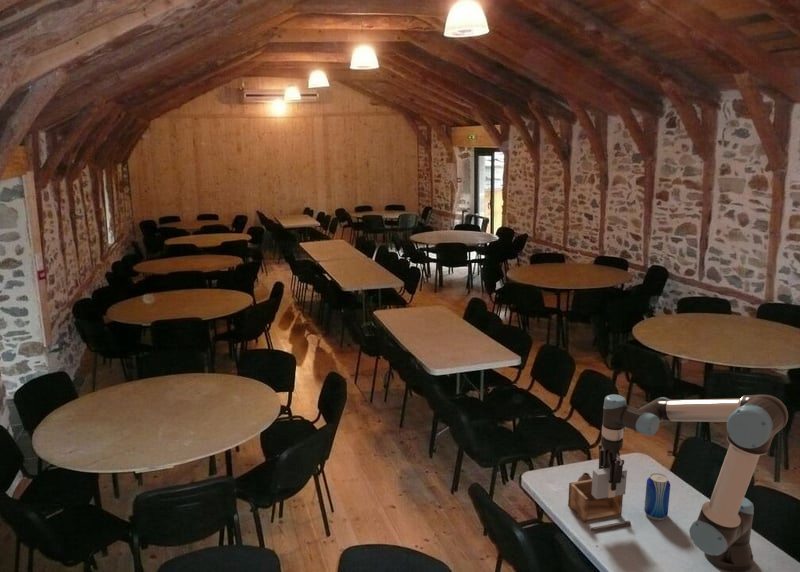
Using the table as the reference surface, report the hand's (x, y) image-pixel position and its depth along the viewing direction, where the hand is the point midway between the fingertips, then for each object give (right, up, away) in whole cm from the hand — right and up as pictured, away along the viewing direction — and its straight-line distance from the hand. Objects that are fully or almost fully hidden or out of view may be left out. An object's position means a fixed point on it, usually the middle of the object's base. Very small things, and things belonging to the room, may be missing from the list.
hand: (608, 493), depth 244 cm
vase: (-2, -7, +23) cm, 24 cm away
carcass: (-1, -11, +8) cm, 13 cm away
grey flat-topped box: (0, 0, 0) cm, 0 cm away
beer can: (+21, -11, +8) cm, 25 cm away
